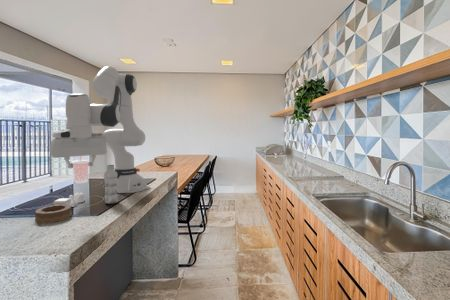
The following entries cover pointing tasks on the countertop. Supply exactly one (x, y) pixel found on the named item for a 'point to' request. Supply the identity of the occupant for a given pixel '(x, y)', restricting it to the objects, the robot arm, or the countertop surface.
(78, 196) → the container set
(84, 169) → the beverage cup
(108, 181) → the plastic bottle
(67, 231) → the countertop surface
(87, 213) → the countertop surface
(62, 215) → the walnut ring
